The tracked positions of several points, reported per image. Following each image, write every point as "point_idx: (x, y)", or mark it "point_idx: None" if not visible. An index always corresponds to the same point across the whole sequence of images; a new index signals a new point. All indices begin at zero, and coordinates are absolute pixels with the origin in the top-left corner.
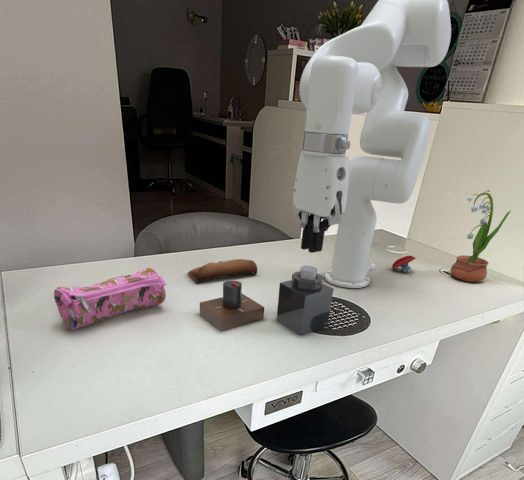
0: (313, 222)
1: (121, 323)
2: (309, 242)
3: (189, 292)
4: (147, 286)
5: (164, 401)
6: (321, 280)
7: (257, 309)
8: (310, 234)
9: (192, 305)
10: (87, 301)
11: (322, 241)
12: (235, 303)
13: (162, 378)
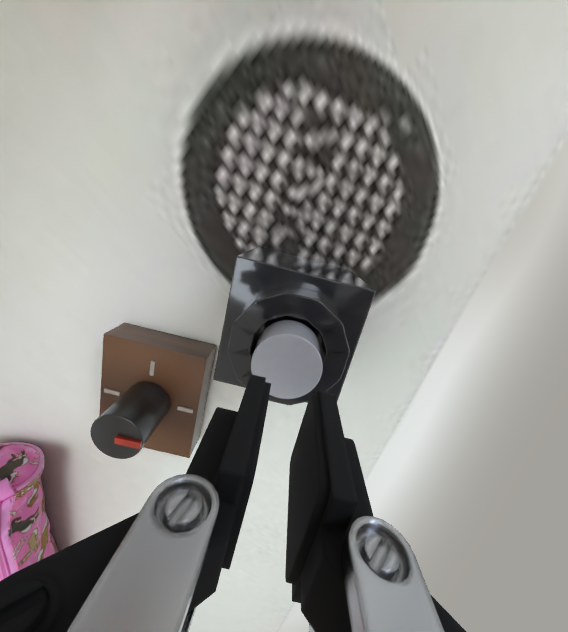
0: (204, 555)
1: (73, 513)
2: (289, 505)
3: (2, 356)
4: (10, 526)
5: (286, 582)
6: (348, 350)
7: (203, 376)
8: (287, 564)
9: (70, 397)
10: None
11: (358, 469)
12: (163, 416)
13: (247, 560)
